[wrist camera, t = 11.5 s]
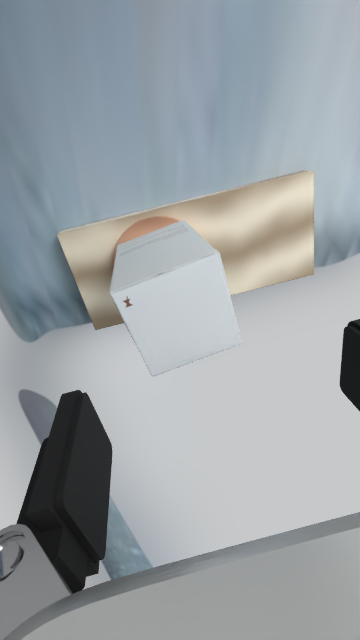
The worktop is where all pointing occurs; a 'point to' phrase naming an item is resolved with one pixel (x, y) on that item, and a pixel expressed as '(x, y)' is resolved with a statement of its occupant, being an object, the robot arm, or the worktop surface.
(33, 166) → the worktop surface
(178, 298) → the supplement box
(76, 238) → the board
